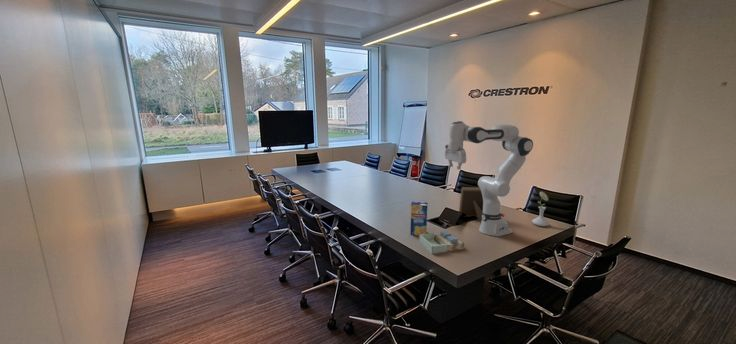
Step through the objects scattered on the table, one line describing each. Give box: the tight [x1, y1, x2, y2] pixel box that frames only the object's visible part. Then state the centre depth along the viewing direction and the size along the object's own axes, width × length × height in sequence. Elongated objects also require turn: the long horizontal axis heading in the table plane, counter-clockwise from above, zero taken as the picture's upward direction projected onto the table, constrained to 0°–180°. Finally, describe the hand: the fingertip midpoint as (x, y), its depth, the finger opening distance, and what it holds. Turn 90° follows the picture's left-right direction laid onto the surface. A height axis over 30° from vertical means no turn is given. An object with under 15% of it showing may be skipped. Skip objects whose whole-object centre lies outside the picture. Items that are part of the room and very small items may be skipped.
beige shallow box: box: [434, 233, 465, 252], centre depth 195 cm, size 12×16×4 cm
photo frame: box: [458, 186, 483, 222], centre depth 240 cm, size 15×22×25 cm
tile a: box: [439, 230, 452, 238], centre depth 198 cm, size 5×5×2 cm
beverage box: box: [410, 201, 429, 236], centre depth 211 cm, size 7×11×22 cm, turn 78°
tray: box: [418, 232, 448, 255], centre depth 192 cm, size 10×18×5 cm, turn 15°
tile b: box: [447, 235, 459, 243], centre depth 190 cm, size 5×5×2 cm
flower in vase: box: [531, 191, 550, 227], centre depth 226 cm, size 13×11×25 cm
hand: (454, 167), depth 198 cm, fingers open, 8 cm apart
